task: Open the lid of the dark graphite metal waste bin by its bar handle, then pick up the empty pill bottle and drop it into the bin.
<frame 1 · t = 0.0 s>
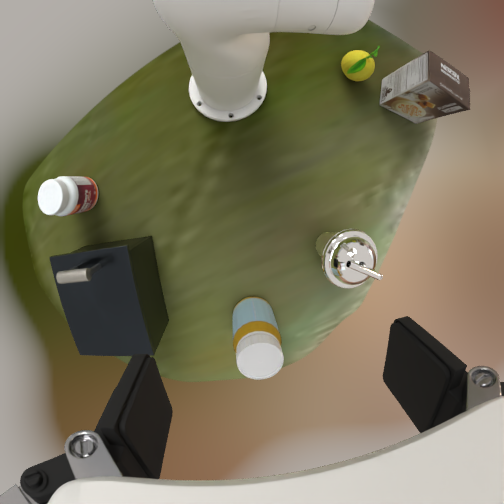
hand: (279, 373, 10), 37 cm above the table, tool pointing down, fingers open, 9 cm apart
pill bottle: (85, 193, 42), on the table
lemon: (349, 72, 40), on the table
coffee box: (398, 101, 42), on the table
bottle: (252, 312, 49), on the table
bin lid: (92, 313, 33), point 14 cm above the table, hinge at 0.0°
waste bin: (125, 283, 46), on the table
cup with straw: (326, 243, 47), on the table
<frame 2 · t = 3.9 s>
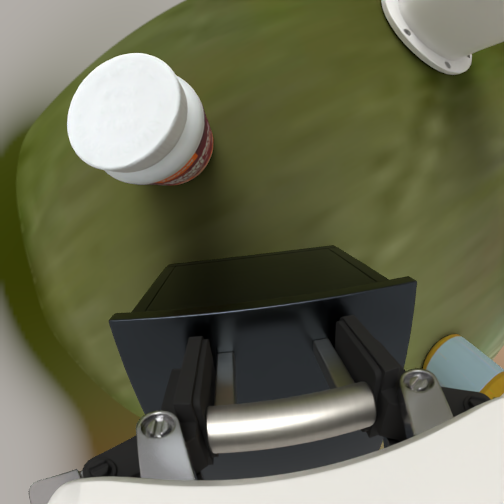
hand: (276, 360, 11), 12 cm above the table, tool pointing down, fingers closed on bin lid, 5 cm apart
pill bottle: (175, 146, 20), on the table
bottle: (440, 355, 27), on the table
bin lid: (286, 465, 11), point 14 cm above the table, hinge at 0.0°, touching gripper
waste bin: (261, 339, 24), on the table
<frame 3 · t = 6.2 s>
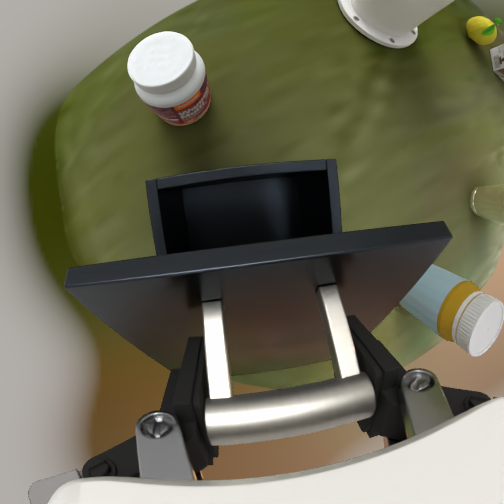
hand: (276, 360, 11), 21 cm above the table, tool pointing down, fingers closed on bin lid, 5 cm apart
pill bottle: (183, 101, 27), on the table
lemon: (468, 36, 25), on the table
coffee box: (503, 72, 27), on the table
bottle: (412, 283, 34), on the table
bin lid: (273, 380, 13), point 19 cm above the table, hinge at 42.0°, touching gripper
waste bin: (246, 246, 31), on the table
cup with straw: (476, 199, 32), on the table
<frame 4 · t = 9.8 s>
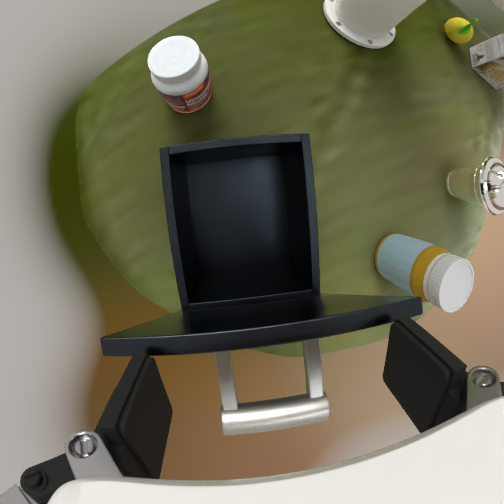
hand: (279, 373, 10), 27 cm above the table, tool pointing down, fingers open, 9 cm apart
pill bottle: (189, 93, 32), on the table
lemon: (447, 36, 31), on the table
coffee box: (482, 69, 32), on the table
bottle: (391, 255, 39), on the table
bin lid: (261, 350, 18), point 20 cm above the table, hinge at 70.3°
waste bin: (239, 214, 35), on the table
cup with straw: (452, 182, 37), on the table
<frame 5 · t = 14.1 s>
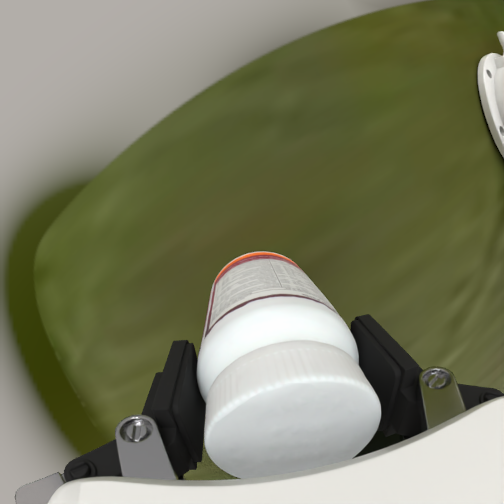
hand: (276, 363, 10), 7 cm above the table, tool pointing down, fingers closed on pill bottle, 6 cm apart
pill bottle: (260, 295, 17), on the table, touching gripper
waste bin: (326, 445, 21), on the table
when the fingers open (14 cm above the table, at t = 21.3 s): pill bottle drops 7 cm, resting on waste bin.
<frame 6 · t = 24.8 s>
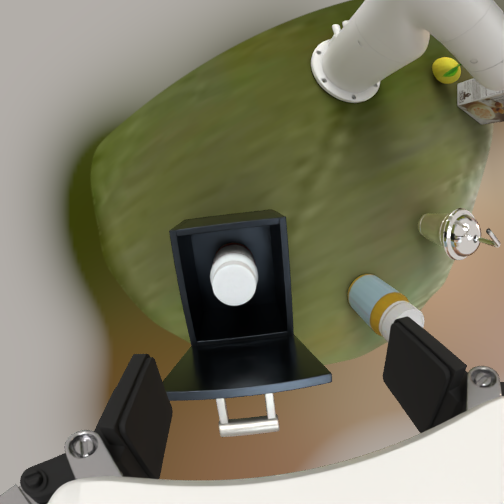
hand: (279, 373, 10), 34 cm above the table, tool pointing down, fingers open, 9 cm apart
pill bottle: (233, 260, 43), point 1 cm above the table, touching waste bin
lemon: (434, 74, 38), on the table
coffee box: (468, 104, 40), on the table
bottle: (363, 290, 47), on the table
bin lid: (245, 382, 27), point 20 cm above the table, hinge at 71.0°
waste bin: (234, 263, 44), on the table
cup with straw: (425, 223, 45), on the table
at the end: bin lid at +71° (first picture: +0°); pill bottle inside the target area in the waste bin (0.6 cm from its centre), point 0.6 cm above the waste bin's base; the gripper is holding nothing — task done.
